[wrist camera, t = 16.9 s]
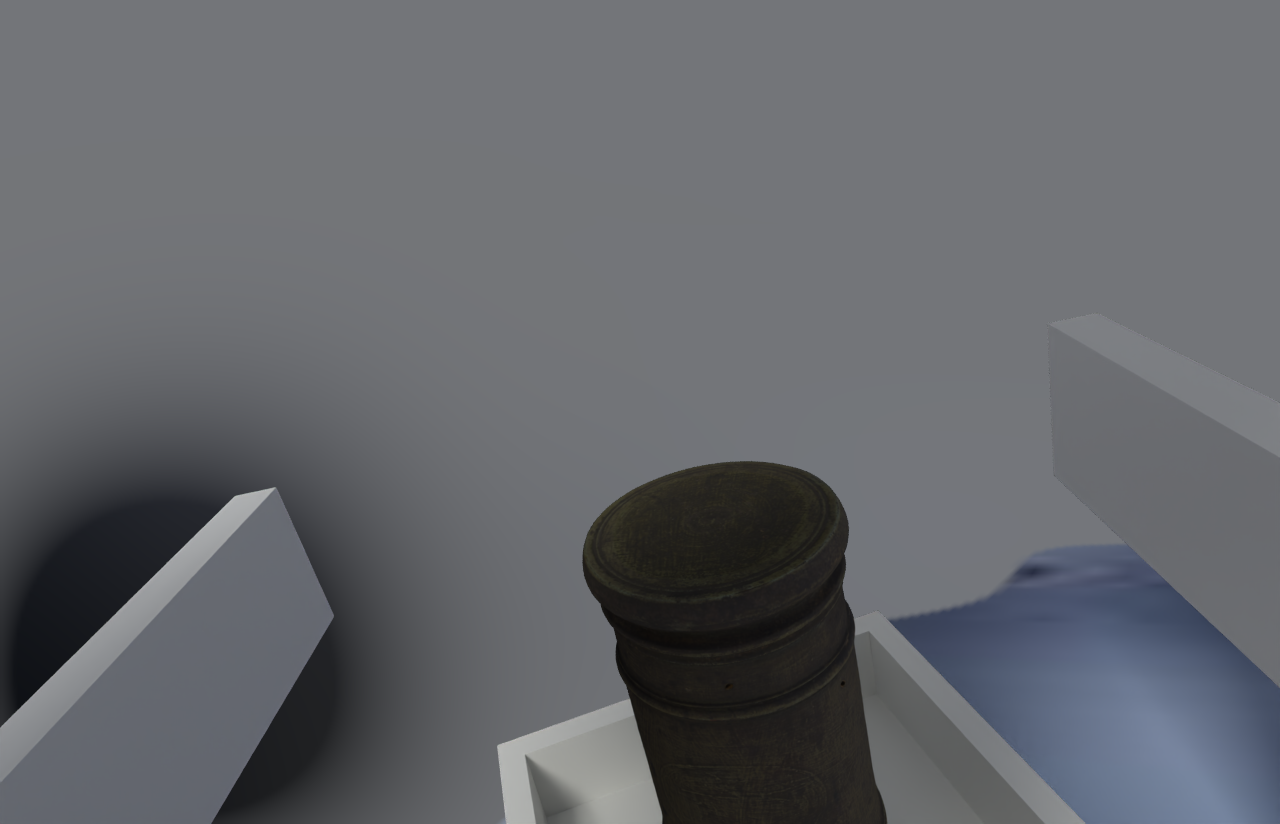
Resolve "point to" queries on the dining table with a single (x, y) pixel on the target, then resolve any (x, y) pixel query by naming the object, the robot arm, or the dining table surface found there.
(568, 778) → the white bin
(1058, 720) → the dining table surface
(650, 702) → the container
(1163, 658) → the dining table surface
